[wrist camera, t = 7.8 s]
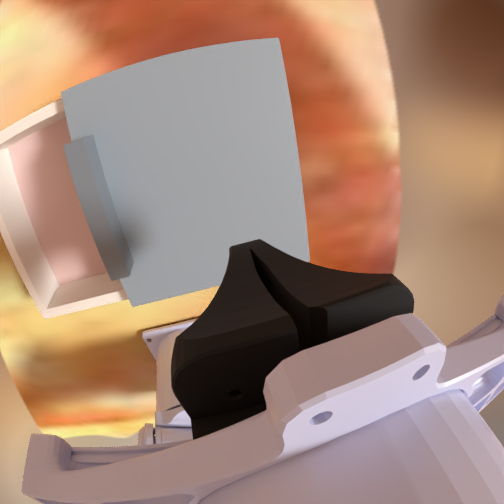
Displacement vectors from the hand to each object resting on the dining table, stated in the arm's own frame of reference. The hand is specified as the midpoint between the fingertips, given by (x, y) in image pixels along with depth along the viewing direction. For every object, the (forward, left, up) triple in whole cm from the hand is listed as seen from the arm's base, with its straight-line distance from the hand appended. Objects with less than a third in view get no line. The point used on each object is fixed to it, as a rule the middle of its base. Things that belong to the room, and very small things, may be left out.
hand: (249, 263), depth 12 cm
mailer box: (+3, +10, -10) cm, 15 cm away
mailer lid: (+3, +2, -6) cm, 7 cm away
